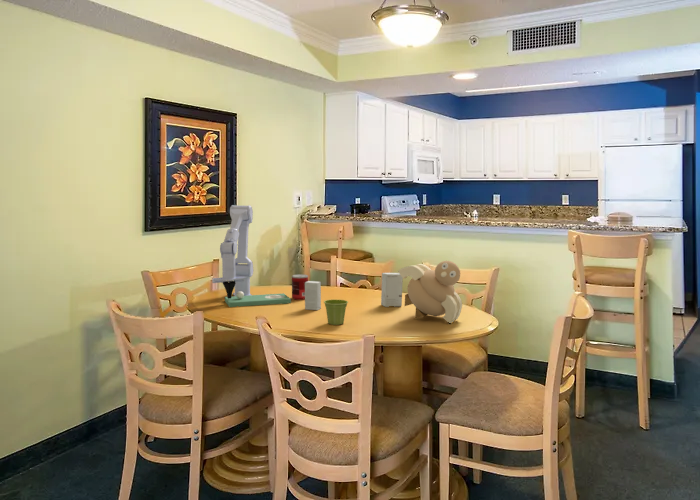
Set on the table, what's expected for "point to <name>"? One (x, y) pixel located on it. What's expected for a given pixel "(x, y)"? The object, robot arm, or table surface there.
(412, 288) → the chick figurine
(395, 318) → the table surface
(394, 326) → the table surface
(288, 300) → the green
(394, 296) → the skincare box
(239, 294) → the ball
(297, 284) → the canned food
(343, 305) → the plant pot
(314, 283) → the skincare box
